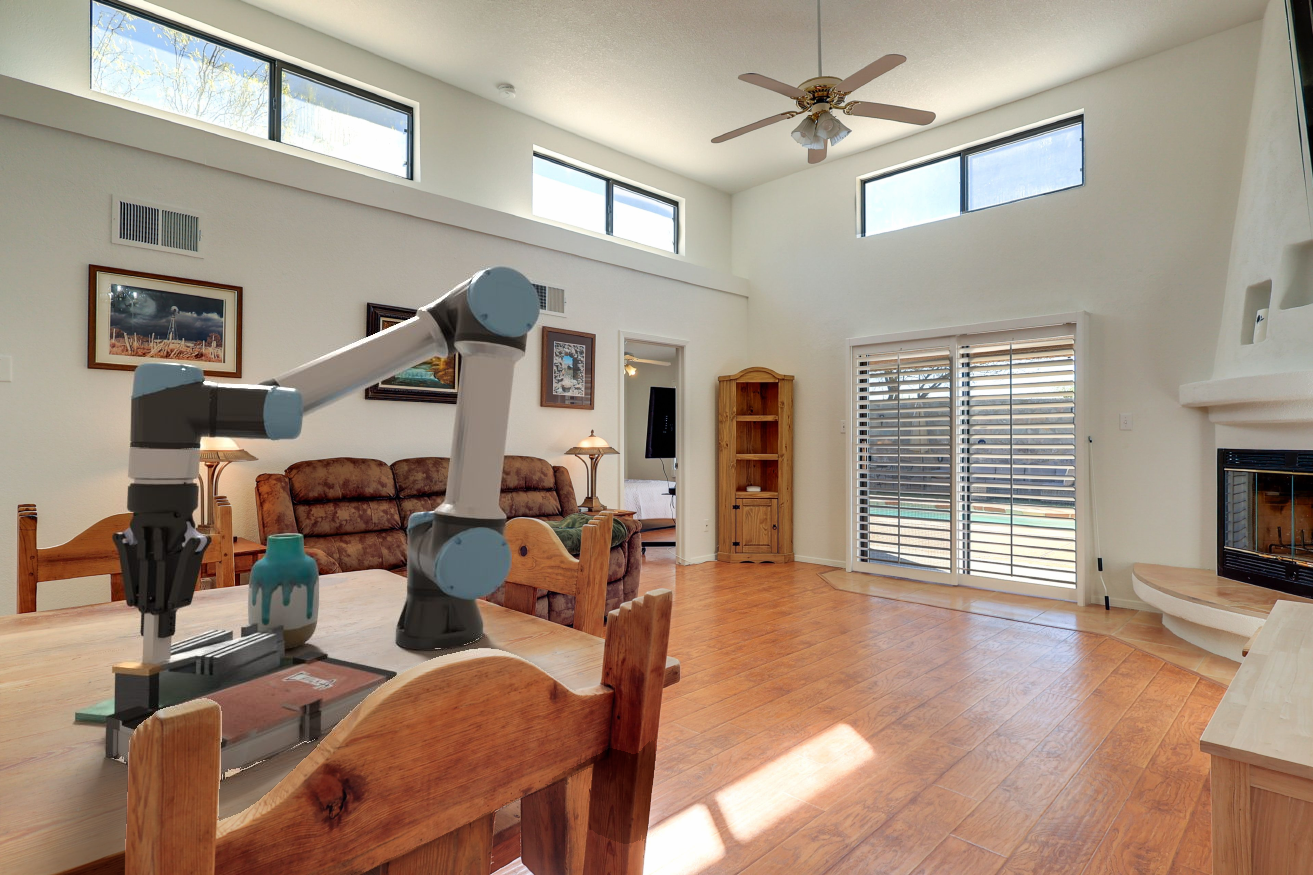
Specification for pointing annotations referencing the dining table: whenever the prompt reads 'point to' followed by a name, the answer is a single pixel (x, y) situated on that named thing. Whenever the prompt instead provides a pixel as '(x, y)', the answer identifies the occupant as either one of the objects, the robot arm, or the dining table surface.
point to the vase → (285, 590)
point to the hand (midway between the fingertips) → (156, 661)
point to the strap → (190, 656)
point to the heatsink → (193, 671)
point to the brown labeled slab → (270, 708)
